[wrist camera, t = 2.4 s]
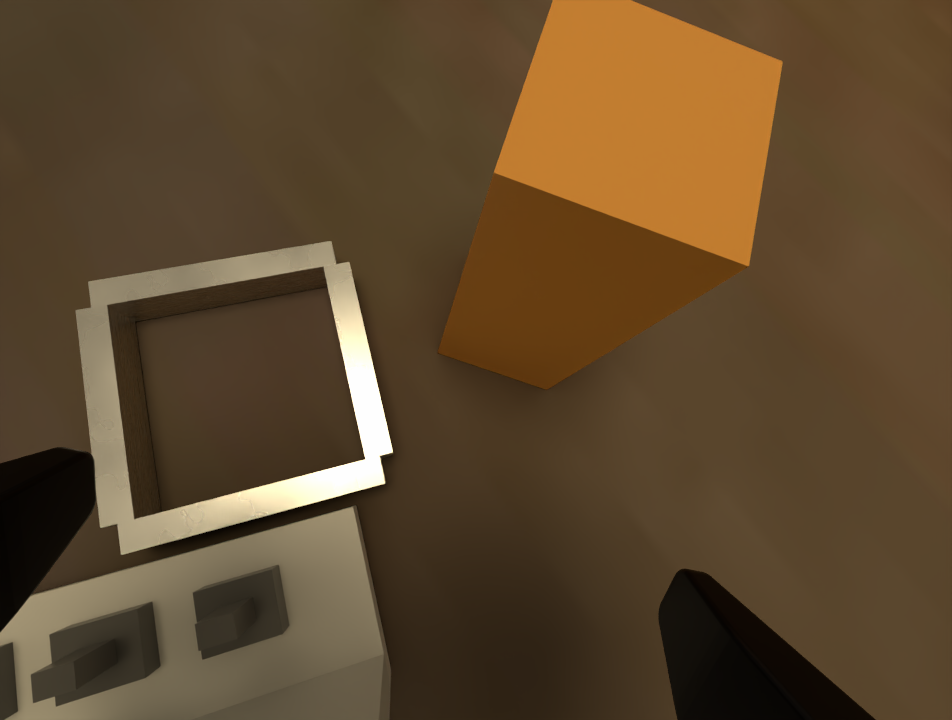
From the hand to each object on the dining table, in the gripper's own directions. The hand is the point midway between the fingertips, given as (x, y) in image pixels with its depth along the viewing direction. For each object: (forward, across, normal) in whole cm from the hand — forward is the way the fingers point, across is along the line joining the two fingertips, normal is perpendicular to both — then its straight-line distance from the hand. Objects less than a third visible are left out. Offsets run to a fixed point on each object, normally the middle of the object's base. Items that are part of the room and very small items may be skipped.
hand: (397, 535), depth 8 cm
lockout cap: (+15, -3, +1) cm, 15 cm away
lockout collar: (+12, +7, +5) cm, 15 cm away
